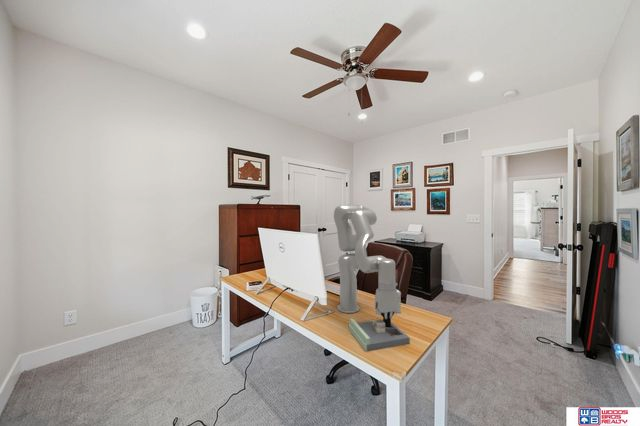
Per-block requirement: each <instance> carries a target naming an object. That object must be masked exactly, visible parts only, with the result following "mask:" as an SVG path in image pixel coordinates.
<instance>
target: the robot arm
mask: <svg viewBox="0 0 640 426" xmlns="http://www.w3.org/2000/svg"><path fill="white" fill-rule="evenodd" d="M377 219H378V217H377V214H376V212H375V211H374V210H373V209H370V208H368V207H366V206H363V205H360V204H341V205H338V206H336V207H335V208H334V210H333V220H334V224H335V226H336V232H337V240H338V246H339V247H338V248H339V250H340V251H341V252H354V253H344V254H342V255H340V256H339V257H338V260H337V261H338V262H337V264H338V265H337V266H338V270H339V293H340V294H339V301H340V303H339V304H338V305H337V310H338V311H339V312H341V313H345V314H353V313H355V314H356V313H357V312H359V310H360V308H361V307H360V306H359V305H358V304H357V303H358V301H357V300H358V297H357V296H358V295H357V294H358V293H357V292H358V290H357V289H358V285H357V282H358V281H357V280H358V279H357V276H356V274H355V272H354V271H356V270H357V271H358V270H360V271H361V272H362V273H364V274H370V273H377V274H378V275H377V276H378V280H377V281H378V283H377V284H378V288H376V290H375V294H374V295H375V296H374V309H375V310H376V311H375V314H376V315H377V316H381V317H382V320H383V322H385V328H386V329H387V328H389V327H390V324H391V322H392V318H393V316H394V315H395V314H397V312H398V306H399V304H398V294H397V290H398V289H397V288H396V287H397V286H398V282H396V262H395V260H394V259H391V258H387V257H385V256H383V255H372V256H368V252H367V247H366V243H368V242H369V241H371V240H372V239H373V238H374V235H375V234H374V231H373V229H372V227H371V226H373V225H375V224H376V222H377ZM348 220H350V221H351V224H352V226H353V230H354V232H355V234H353V231H352V226H351V224H350V223H349V222H348ZM396 289H397V290H396ZM398 313H399V312H398Z"/></svg>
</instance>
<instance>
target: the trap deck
mask: <svg viewBox="0 0 640 426" xmlns="http://www.w3.org/2000/svg"><path fill="white" fill-rule="evenodd" d="M381 320H382V321H383V319H381ZM348 330H349V332H350V333H351V334H352V335H353V337H354V338H355V340H357V342H358V343H359V344H360V346H361V347H362V349H363V350H364V351H365V352H369V351H375V350H380V349H385V348H391V347H392V348H393V347H397V346H398V347H399V346H403V345H409V344H411V341H410V336H408V334H406V333H405V332H404V331H402V330H401V329H400V328H399V327H398V326H396V324H394V323H393V322H392V321H391V324H390V327H388V328H387V327H386V328H385V332H382V333H376V331H375V330H374V329H373V320H370V321H369V320H368V321H363V322H357V321H356V320H355V319H354V318H350V319H349V324H348Z"/></svg>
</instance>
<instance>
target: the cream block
mask: <svg viewBox="0 0 640 426" xmlns="http://www.w3.org/2000/svg"><path fill="white" fill-rule="evenodd" d="M382 320H383V319H382V318H378V319H373V320H372V321H373V329H374V330H375V331H376V333H382V332H385V329H386V327H385V322H383V321H382Z"/></svg>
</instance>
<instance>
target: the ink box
mask: <svg viewBox="0 0 640 426" xmlns="http://www.w3.org/2000/svg"><path fill="white" fill-rule="evenodd" d="M395 289H396V290H397V294H398V304H399V306H398V312H397V313H401V312H402V310H401V309H402V308H401V307H402V306H401V305H402V301H401V297H402V292H401V291H400V290H398V289H397V288H395ZM397 313H396V314H397Z"/></svg>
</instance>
